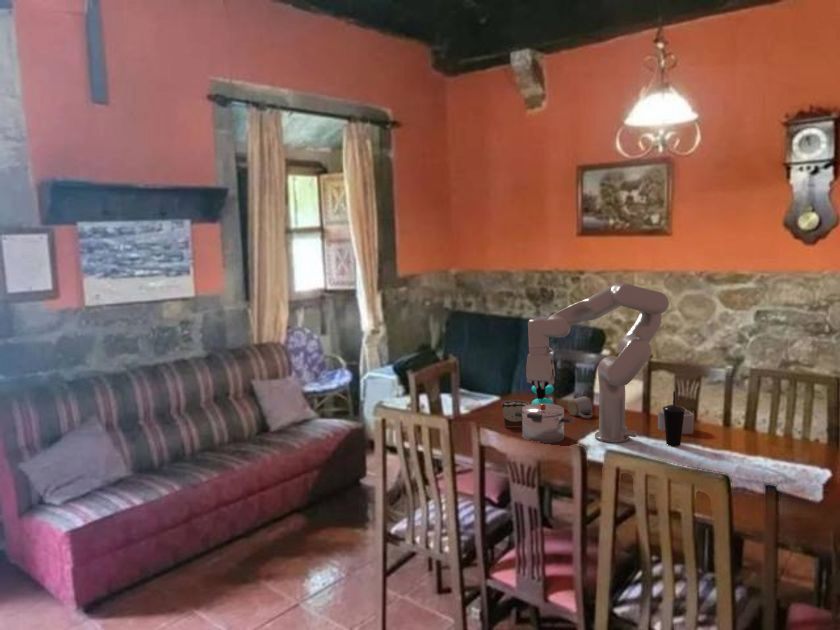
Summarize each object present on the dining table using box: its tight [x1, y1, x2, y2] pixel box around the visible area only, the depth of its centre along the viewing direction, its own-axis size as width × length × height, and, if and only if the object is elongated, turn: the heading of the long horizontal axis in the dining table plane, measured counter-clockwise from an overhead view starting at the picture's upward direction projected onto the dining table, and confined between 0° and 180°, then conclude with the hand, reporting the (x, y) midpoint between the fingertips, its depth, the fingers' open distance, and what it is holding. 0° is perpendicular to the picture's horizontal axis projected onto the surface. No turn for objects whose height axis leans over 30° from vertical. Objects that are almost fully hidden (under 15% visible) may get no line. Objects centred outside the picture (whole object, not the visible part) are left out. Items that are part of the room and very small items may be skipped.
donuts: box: [531, 383, 555, 404], centre depth 301 cm, size 10×10×10 cm
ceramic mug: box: [567, 396, 593, 419], centre depth 285 cm, size 11×8×8 cm
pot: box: [515, 412, 573, 444], centre depth 256 cm, size 22×16×10 cm
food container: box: [500, 399, 530, 428], centre depth 274 cm, size 12×6×10 cm, turn 84°
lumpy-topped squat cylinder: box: [657, 406, 695, 435], centre depth 261 cm, size 10×13×9 cm
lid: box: [522, 403, 565, 419], centre depth 255 cm, size 16×18×3 cm
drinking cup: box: [662, 390, 686, 447], centre depth 242 cm, size 8×8×20 cm
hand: (541, 398), depth 252 cm, fingers closed
